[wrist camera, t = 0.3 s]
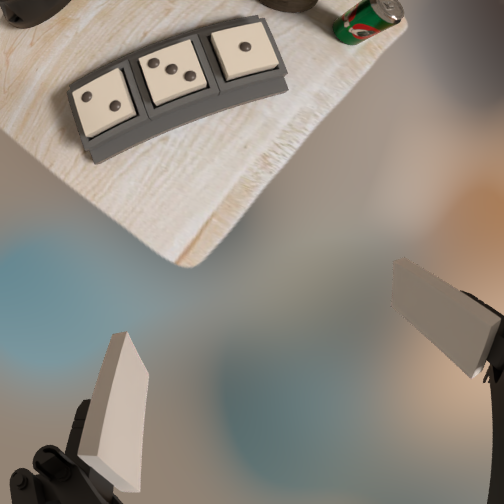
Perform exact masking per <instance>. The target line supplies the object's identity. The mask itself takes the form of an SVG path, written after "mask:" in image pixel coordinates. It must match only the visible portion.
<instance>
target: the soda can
mask: <svg viewBox="0 0 504 504" xmlns="http://www.w3.org/2000/svg"><path fill="white" fill-rule="evenodd" d="M403 16H404V10H403V7H402V6H401V4H400V2H399V1H398V0H362V1H360V2H359V3H358V4H356V5H355V6H354V7H352V8H351V9H349V10H348V11H347V12H346V13H344V14H343V15H342V16H340V17H339V18H338V19H336V20H335V21H334V23H333V31H334V33H335V35H336V36H337V38H338V39H339V40H341V41H342V42H344V43H345V44H348V45H357V44H359V43H361V42H363V41H364V40H366V39H368V38H370V37H372V36H374V35H376V34H378V33H380V32H382V31H384V30H386V29H388V28H390V27H392V26H394V25H396V24H398V23H400V21H401V19H402V18H403Z"/></svg>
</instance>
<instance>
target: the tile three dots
mask: <svg viewBox="0 0 504 504" xmlns="http://www.w3.org/2000/svg"><path fill="white" fill-rule="evenodd" d="M139 61H140V64H141V67H142V70H143V73H144V76H145V78H146V81H147V84H148V87H149V90H150V93H151V95H152V98H153V101H154V103H155V104H156V106H159V105H162V104H164V103H167V102H169V101H172V100H174V99H177V98H179V97H182V96H185V95H187V94H190V93H193V92H196V91H198V90H201V89H204V88H206V84H207V82H206V80H205V77H204V74H203V72H202V69H201V66H200V64H199V61H198V59H197V56H196V53H195V51H194V48H193V46H192V43H191V41H190V40H187V41H184V42H181V43H178V44H175V45H172V46H169V47H166V48H164V49H161V50H158V51H156V52H153V53H151V54H148V55H146V56H143V57H141V58H139Z"/></svg>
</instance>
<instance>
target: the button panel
mask: <svg viewBox="0 0 504 504" xmlns="http://www.w3.org/2000/svg"><path fill="white" fill-rule="evenodd" d="M258 22H262V24H263V27H264V29H265V31H266V33H267V36H268V38H269V40H270V43H271V45H272V47H273V50H274V52H275V55H276V57H277V60H278V62H279V64H278V65H277V66H276V67H275V68H274V69H271V70H267V71H263V72H259V73H255V74H251V75H247V76H243V77H240V78H236V79H233V80H229V81H226V80H225V77H224V74H223V72H222V69H221V67H220V64H219V62H218V59H217V56H216V54H215V51H214V49H213V46H212V44H211V41H210V40H211V33H214V32H217V31H221V30H225V29H230V28H234V27H238V26H243V25H248V24H253V23H258ZM187 40H190V41H191V43H192V46H193V48H194V51H195V53H196V56H197V59H198V61H199V64H200V66H201V69H202V72H203V74H204V77H205V80H206V82H207V84H206V88H204V89H201V90H198V91H196V92H193V93H190V94H187V95H185V96H182V97H179V98H177V99H174V100H172V101H169V102H167V103H164V104H162V105H159V106H156V104H155V103H154V101H153V98H152V95H151V93H150V90H149V87H148V84H147V81H146V78H145V76H144V73H143V70H142V67H141V64H140V61H139V58H141V57H143V56H146V55H148V54H151V53H153V52H156V51H158V50H161V49H164V48H166V47H169V46H172V45H175V44H178V43H181V42H184V41H187ZM117 68H119V70H120V71H121V72H122V73H123V75H124V78H125V81H126V84H127V87H128V90H129V93H130V96H131V99H132V101H133V104H134V107H135V110H136V113H137V115H136V116H134V117H132V118H130V119H128V120H126V121H124V122H122V123H120V124H118V125H116V126H114V127H112V128H110V129H108V130H106V131H104V132H102V133H100V134H98V135H97V136H95V137H86V136H85V133H84V130H83V127H82V124H81V120H80V117H79V114H78V111H77V108H76V104H75V101H74V97H73V94H72V92H74V91H76V90H77V89H79V88H81V87H82V86H84V85H86V84H88V83H90V82H91V81H93V80H95V79H97V78H99V77H101V76H103V75H105V74H107V73H109V72H111V71H113V70H115V69H117ZM287 74H288V72H287V70H286V67H285V65H284V62H283V60H282V57H281V55H280V52H279V50H278V47H277V45H276V43H275V40H274V38H273V36H272V33H271V31H270V29H269V27H268V24H267V22H266V20H265V18H260V19H259V17H258V15H255V16H249V17H244V18H239V19H234V20H230V21H226V22H221V23H217V24H213V25H210V26H206V27H202V28H199V29H195V30H192V31H189V32H186V33H183V34H180V35H177V36H174V37H171V38H168V39H165V40H162V41H160V42H157V43H154V44H152V45H149V46H147V47H144V48H142V49H140V50H137V51H135V52H133V53H130V54H128V55H126V56H124V57H121V58H119V59H117V60H115V61H113V62H111V63H109V64H107V65H105V66H103V67H101V68H99V69H97V70H95V71H94V72H92V73H90V74H88V75H86V76H84V77H83V78H81V79H79V80H77V81H76V82H74V83H72V84H71V85H69V87H70V90H69V91H67V95H68V99H69V103H70V106H71V109H72V113H73V116H74V119H75V122H76V126H77V129H78V132H79V135H80V138H81V141H82V144H83V146H84V149H85V151H90V153H91V156H92V158H93V161H94V164H100V163H102V162H104V161H106V160H108V159H110V158H112V157H114V156H116V155H118V154H120V153H122V152H124V151H126V150H128V149H130V148H132V147H134V146H136V145H139V144H141V143H143V142H145V141H147V140H150V139H152V138H154V137H156V136H159V135H161V134H163V133H166V132H168V131H170V130H173V129H175V128H178V127H180V126H183V125H185V124H188V123H191V122H193V121H196V120H199V119H201V118H204V117H207V116H210V115H212V114H215V113H218V112H221V111H224V110H227V109H230V108H233V107H236V106H240V105H243V104H246V103H249V102H253V101H256V100H260V99H263V98H267V97H271V96H275V95H278V94H282V93H285V92H287V91H288V90H289V89H288V87H287V84H286V81H285V79H284V76H285V75H287Z"/></svg>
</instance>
